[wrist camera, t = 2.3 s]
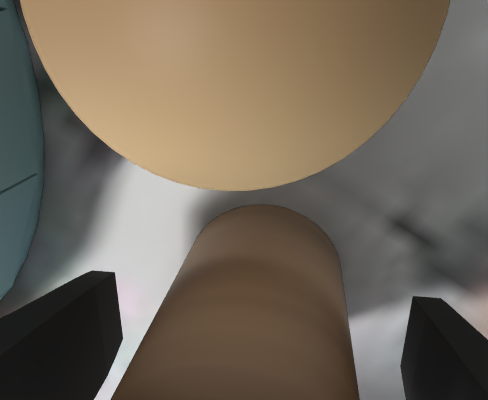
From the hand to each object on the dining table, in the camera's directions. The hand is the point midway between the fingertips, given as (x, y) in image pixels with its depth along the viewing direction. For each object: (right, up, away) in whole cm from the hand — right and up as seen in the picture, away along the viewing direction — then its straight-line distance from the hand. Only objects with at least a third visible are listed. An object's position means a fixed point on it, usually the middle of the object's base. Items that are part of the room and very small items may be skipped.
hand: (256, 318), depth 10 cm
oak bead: (0, +7, -1) cm, 7 cm away
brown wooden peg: (0, +1, +2) cm, 2 cm away
